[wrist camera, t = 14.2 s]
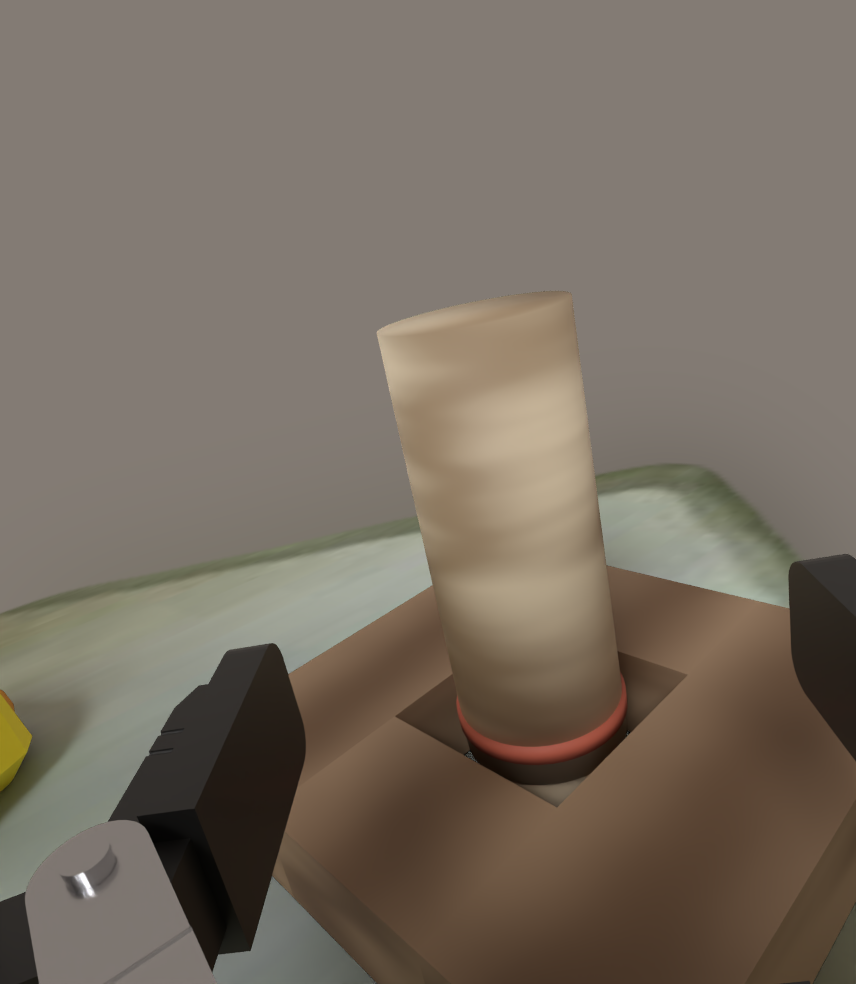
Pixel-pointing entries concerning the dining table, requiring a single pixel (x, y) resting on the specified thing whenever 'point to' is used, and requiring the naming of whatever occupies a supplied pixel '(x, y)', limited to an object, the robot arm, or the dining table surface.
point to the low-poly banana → (11, 741)
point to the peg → (512, 531)
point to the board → (578, 812)
